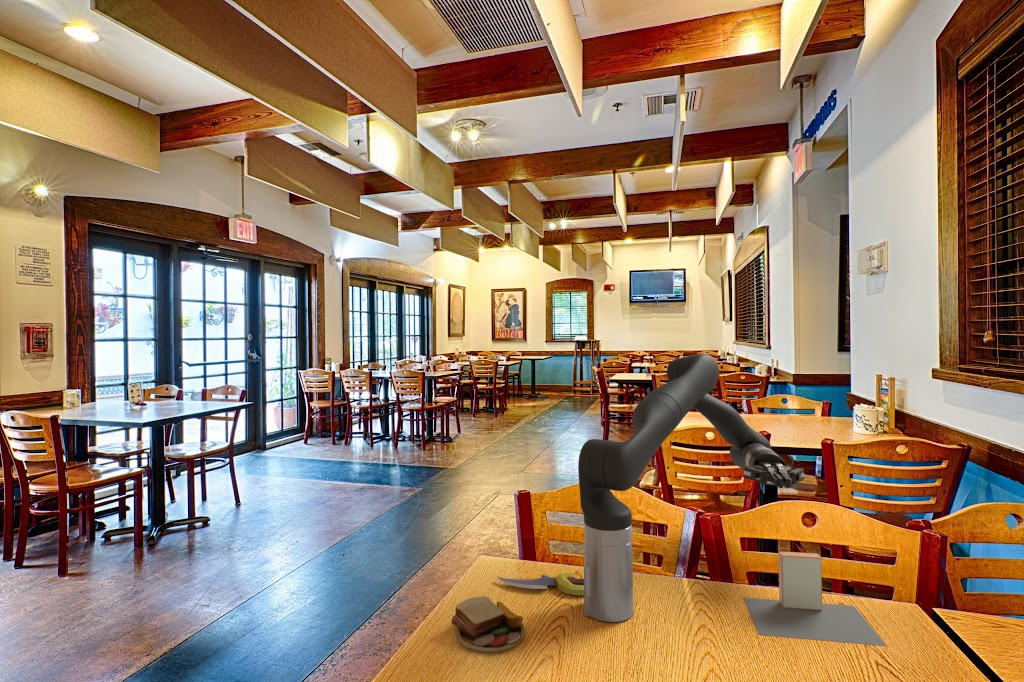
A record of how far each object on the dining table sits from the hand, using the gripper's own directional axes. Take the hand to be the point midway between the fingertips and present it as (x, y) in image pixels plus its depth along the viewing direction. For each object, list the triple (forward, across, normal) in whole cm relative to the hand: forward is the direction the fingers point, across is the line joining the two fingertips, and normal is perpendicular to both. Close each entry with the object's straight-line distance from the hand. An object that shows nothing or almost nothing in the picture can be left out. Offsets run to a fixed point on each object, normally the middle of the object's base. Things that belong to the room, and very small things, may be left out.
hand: (784, 483), depth 116 cm
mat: (+15, 0, +22) cm, 27 cm away
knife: (+8, -48, +23) cm, 54 cm away
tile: (+10, 0, +21) cm, 23 cm away
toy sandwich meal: (+29, -57, +22) cm, 68 cm away
